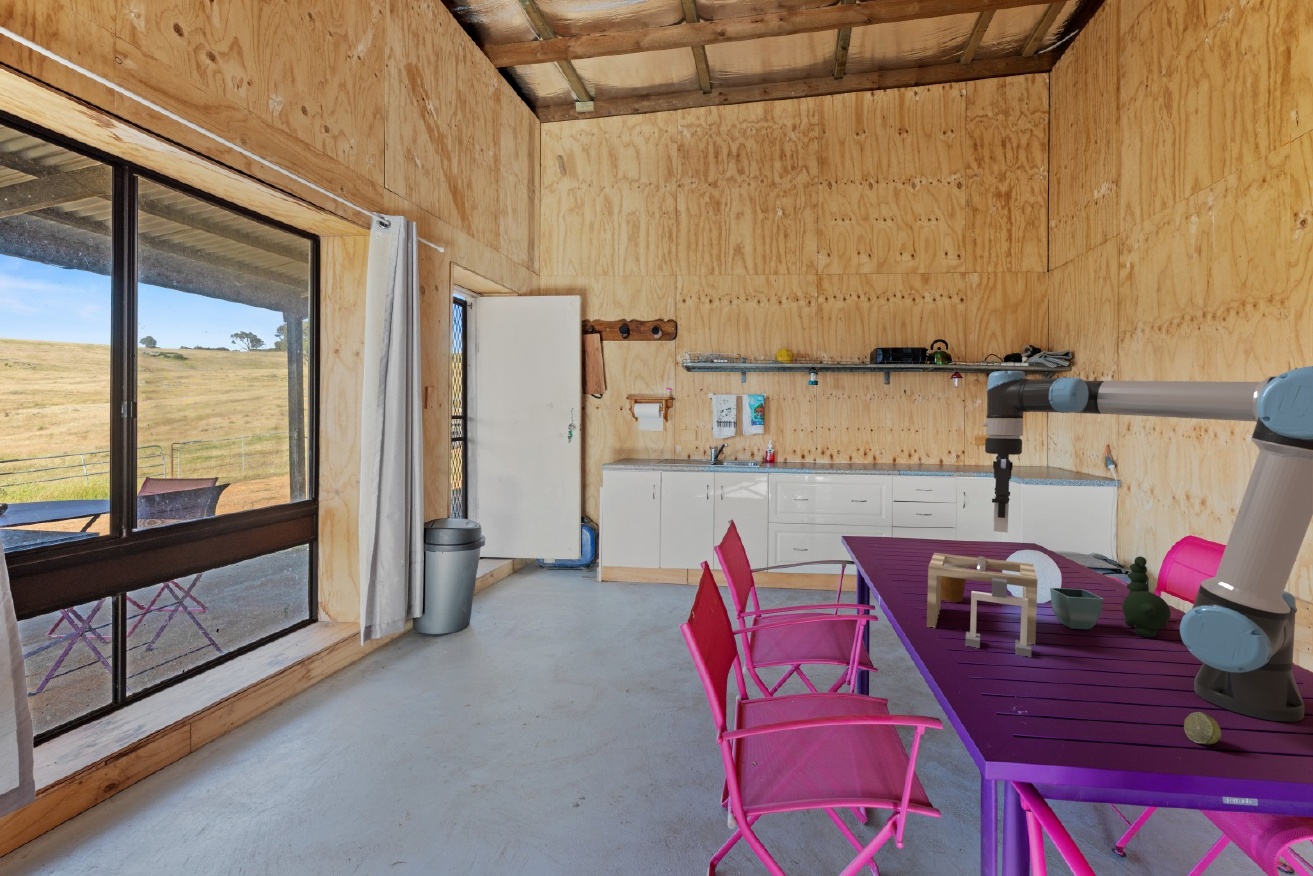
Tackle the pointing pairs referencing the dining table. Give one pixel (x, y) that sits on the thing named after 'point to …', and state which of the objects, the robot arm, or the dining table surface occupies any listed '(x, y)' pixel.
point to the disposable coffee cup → (952, 586)
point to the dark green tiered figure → (1144, 603)
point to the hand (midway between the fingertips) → (1000, 526)
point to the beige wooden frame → (1024, 579)
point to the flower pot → (1076, 607)
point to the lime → (1202, 728)
